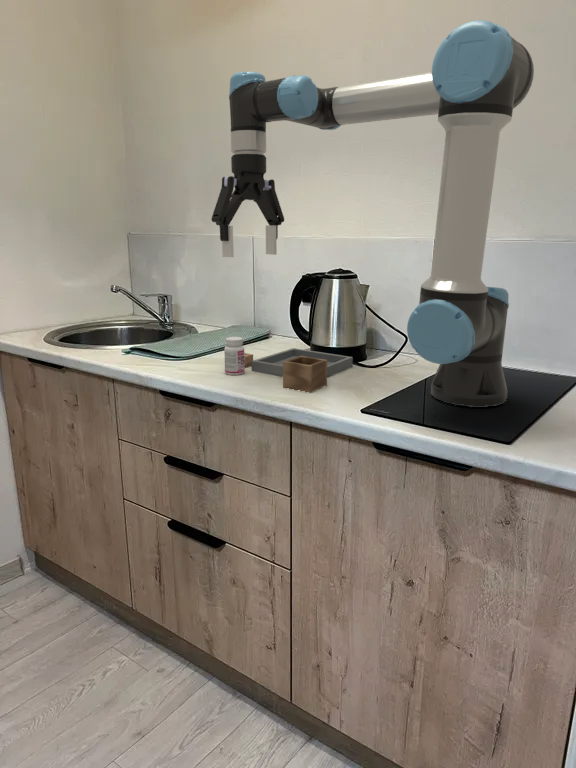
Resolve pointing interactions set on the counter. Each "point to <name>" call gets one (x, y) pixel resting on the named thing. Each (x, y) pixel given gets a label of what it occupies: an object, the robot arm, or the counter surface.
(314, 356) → the tray
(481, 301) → the robot arm
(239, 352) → the pill bottle
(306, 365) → the walnut box
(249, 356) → the stained block
